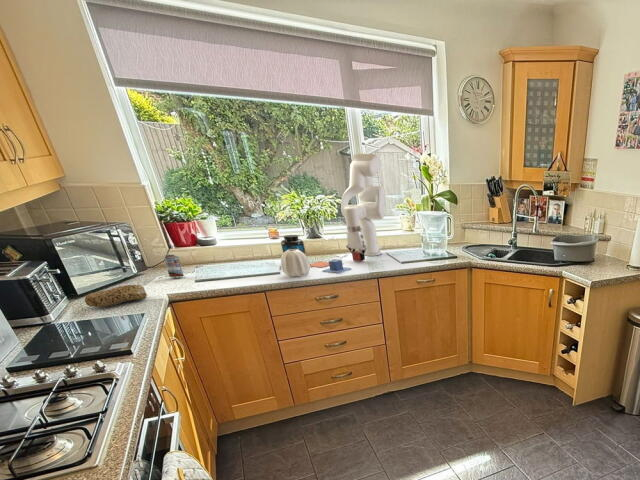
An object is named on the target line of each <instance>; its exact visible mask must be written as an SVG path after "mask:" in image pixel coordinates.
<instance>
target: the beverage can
mask: <svg viewBox="0 0 640 480" xmlns="http://www.w3.org/2000/svg"><path fill="white" fill-rule="evenodd" d="M163 260H164V264H165V268H166V271H167V274H168V276H169V277H170V278H171V279H178V278H179V279H180V278H183V277H184V276H185V275H184V271H183V268H182V263H181V261H180V258H179V256H178V255H177V254H176V253H173V254H170V253H169V254H164V256H163Z"/></svg>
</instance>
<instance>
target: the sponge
mask: <svg viewBox="0 0 640 480" xmlns="http://www.w3.org/2000/svg"><path fill="white" fill-rule="evenodd" d="M147 297H148V294H147V292H146V289H145V287H144V286H143V285H142V284H126V285H120V286H116V287H113V288H110V289H106V290H100V291H95V292H90V293H89V294H87V295H86V296H85V297H84V302H85V305H86V306H89V307H92V308H105V307H112V306H116V305H119V304H122V303H126V302H130V301H138V300H139V301H140V300H144V299H146V298H147Z"/></svg>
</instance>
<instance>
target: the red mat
mask: <svg viewBox="0 0 640 480" xmlns="http://www.w3.org/2000/svg"><path fill="white" fill-rule="evenodd" d="M309 264H310V268H311V267H312V268H321V269H323V268H327V267H330V266H329V261H328V262H327V261H316V262H313V263H309Z"/></svg>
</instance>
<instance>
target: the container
mask: <svg viewBox="0 0 640 480" xmlns="http://www.w3.org/2000/svg"><path fill="white" fill-rule="evenodd" d="M280 241H281V242H280V244H281V249H282V254H283V253H284V252H285V251H287V250H290V249H297V250H300V251H301V252H303V253H304V254H305V255H306V256H307V253H306V248H305V243H304V241H303V239H300V238H299V235H297V234H287V235H286V234H285V235H284V236H283V239H282V240H280Z"/></svg>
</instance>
